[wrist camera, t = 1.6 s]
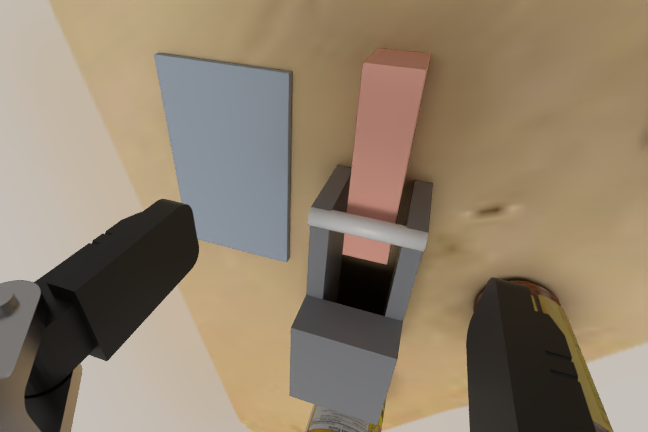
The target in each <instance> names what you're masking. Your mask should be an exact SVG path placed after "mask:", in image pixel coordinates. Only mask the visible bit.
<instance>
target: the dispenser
mask: <svg viewBox="0 0 648 432" xmlns="http://www.w3.org/2000/svg"><path fill="white" fill-rule="evenodd" d="M351 169H352V168H349V167H343V166H338V165H337V167H336V168H335V170H334V172H333V173H332V175H331V176H330V178H329V179H328V181H327V183H326V184H325V186H324V187H323V189H322V191H321V192H320V194H319V195H318V197H317V199H316V200H315V202H314V203H313V205H312V206H311V208H310V211H309V214H308V225H310V239H309V257H308V275H307V293H306V297H305V299H304V301H303V303H302V305H301V308H300V310H299V312H298V314H297V316H296V318H295V320H294V323H293V325H292V327H291V353H290V396H292V397H295V398H298V399H301V400H304V401H307V402H310V403H313V404H315V405H318V406H321V407H324V408H327V409H330V410H333V411H336V412H339V413H342V414H345V415H348V416H351V417H354V418H357V419H360V420H363V421H366V422H369V423H372V424H375V425H378V421H379V418H380V415H381V411H382V408H383V405H384V402H385V398H386V395H387V392H388V388H389V385H390V382H391V378H392V375H393V372H394V369H395V365H396V362H397V358H398V351H399V344H400V337H401V330H402V323H403V319H404V315H405V312H406V308H407V305H408V301H409V298H410V295H411V291H412V288H413V284H414V281H415V277H416V274H417V270H418V267H419V263H420V260H421V256H422V253H423V252H424V250H425V247H426V243H427V238H428V231H429V220H430V210H431V199H432V188H433V184H432V183H427V182H421V181H416V180H415V183H414V188H413V192H412V196H411V200H410V204H409V209H408V213H407V217H406V221H405V225H400V224H395V223H390V222H386V221H381V220H377V219H372V218H368V217H363V216H359V215H354V214H349V213H347V206H348V197H349V188H350V178H351ZM344 233H345V234H349V235H354V236H358V237H362V238H367V239H371V240H375V241H380V242H384V243H388V244H393V245H397V246H399V251H398V255H397V259H396V263H395V267H394V272H393V276H392V280H391V284H390V288H389V293H388V297H387V301H386V305H385V309H384V314H383V316H382V315H378V314H374V313H371V312H367V311H363V310H360V309H356V308H352V307H349V306H345V305H342V304H338V303H337V296H338V288H339V280H340V272H341V264H342V256H343V254H342V252H343V243H344Z"/></svg>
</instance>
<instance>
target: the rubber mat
mask: <svg viewBox="0 0 648 432" xmlns="http://www.w3.org/2000/svg"><path fill="white" fill-rule="evenodd" d="M154 57H155V62H156V68H157V73H158V78H159V84H160V89H161V94H162V100H163V105H164V110H165V116H166V121H167V126H168V132H169V137H170V142H171V148H172V153H173V159H174V164H175V169H176V175H177V180H178V185H179V191H180V196H181V201H182V203H183V204H187V205H189V206H190V207H191V208H192V211H193V216H194V221H195V227H196V233H197V239H198V240H202V241H206V242H210V243H214V244H217V245H221V246H225V247H229V248H233V249H237V250H241V251H245V252H249V253H252V254H256V255H260V256H264V257H268V258H272V259H276V260H280V261H284V262H287V261H288V260H289V248H290V182H291V115H292V72H291V71H284V70H277V69H270V68H263V67H256V66H249V65H242V64H235V63H227V62H220V61H213V60H206V59H199V58H192V57H185V56H178V55H171V54H163V53H157V54H154Z"/></svg>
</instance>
